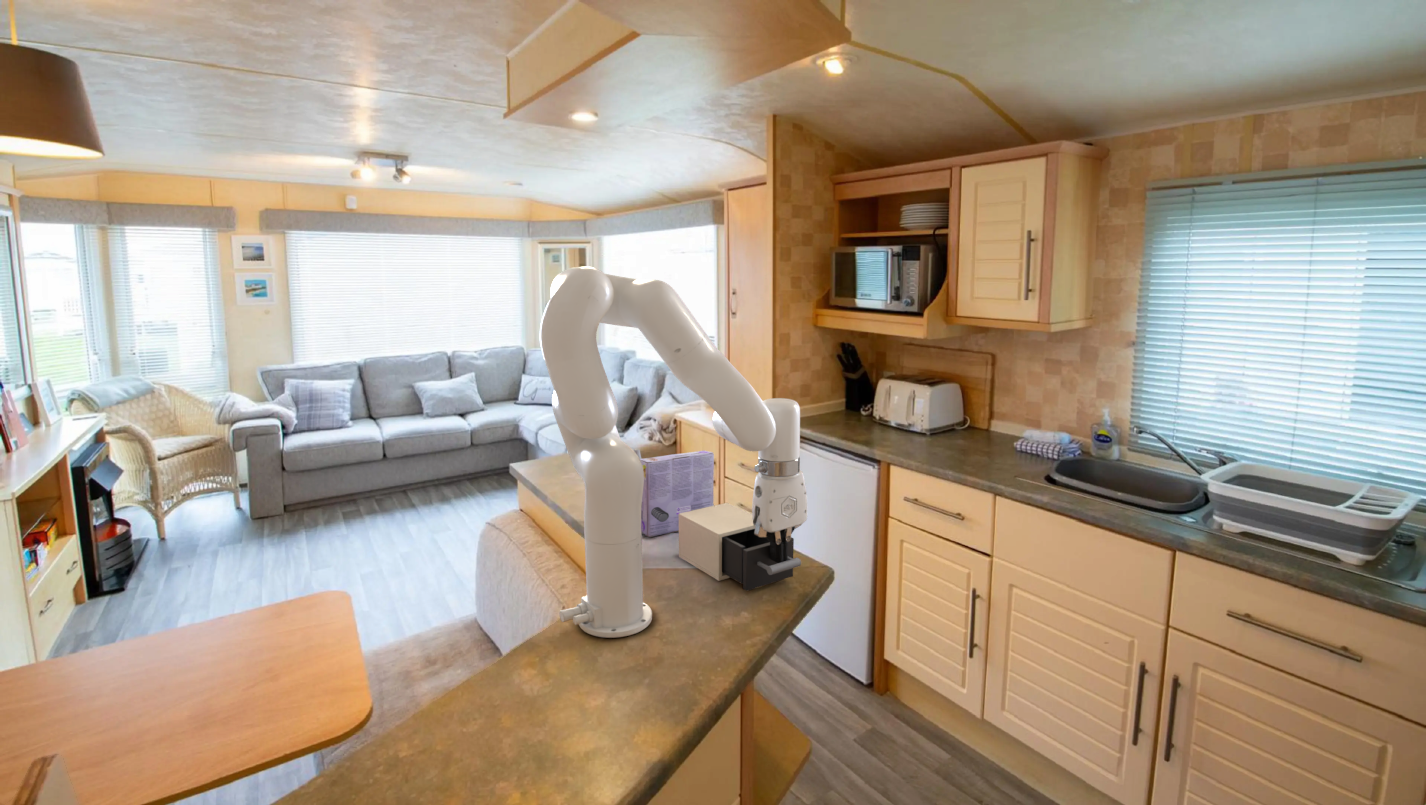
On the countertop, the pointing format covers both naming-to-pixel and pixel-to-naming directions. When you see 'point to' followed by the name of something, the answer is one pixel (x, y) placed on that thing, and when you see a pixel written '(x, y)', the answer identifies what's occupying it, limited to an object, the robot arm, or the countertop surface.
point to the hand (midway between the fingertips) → (778, 560)
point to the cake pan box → (675, 489)
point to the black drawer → (754, 560)
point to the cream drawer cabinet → (710, 535)
